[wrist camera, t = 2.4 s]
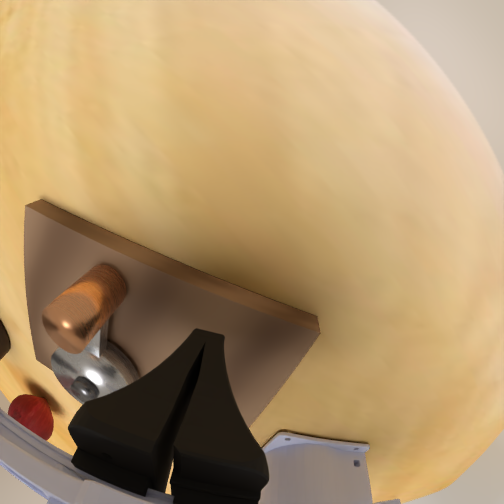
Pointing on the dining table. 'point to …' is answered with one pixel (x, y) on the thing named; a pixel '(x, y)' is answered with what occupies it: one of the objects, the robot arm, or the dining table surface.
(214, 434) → the robot arm
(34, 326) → the stand
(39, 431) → the onion
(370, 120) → the dining table surface
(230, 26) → the dining table surface
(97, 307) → the grey and brown piece
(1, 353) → the bottle
